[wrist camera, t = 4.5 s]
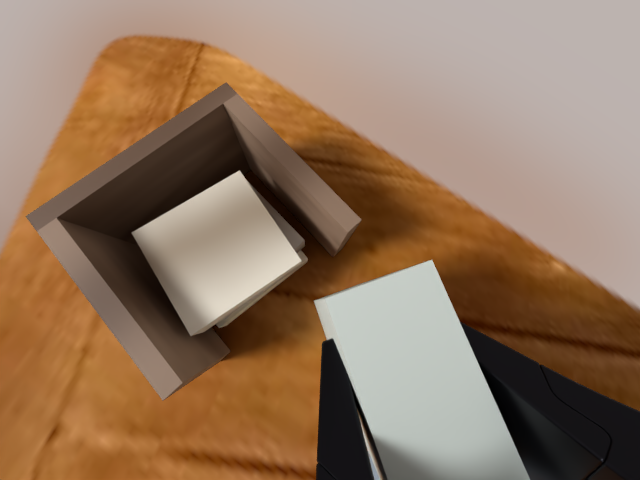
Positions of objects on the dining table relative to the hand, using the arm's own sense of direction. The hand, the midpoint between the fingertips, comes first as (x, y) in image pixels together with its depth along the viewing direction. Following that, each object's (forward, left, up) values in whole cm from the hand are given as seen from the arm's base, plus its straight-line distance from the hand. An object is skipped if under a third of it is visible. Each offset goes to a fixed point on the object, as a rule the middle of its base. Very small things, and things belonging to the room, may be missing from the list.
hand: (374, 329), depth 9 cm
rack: (+7, +2, -7) cm, 10 cm away
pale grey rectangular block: (-1, +1, -7) cm, 7 cm away
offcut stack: (+7, +2, -7) cm, 10 cm away
